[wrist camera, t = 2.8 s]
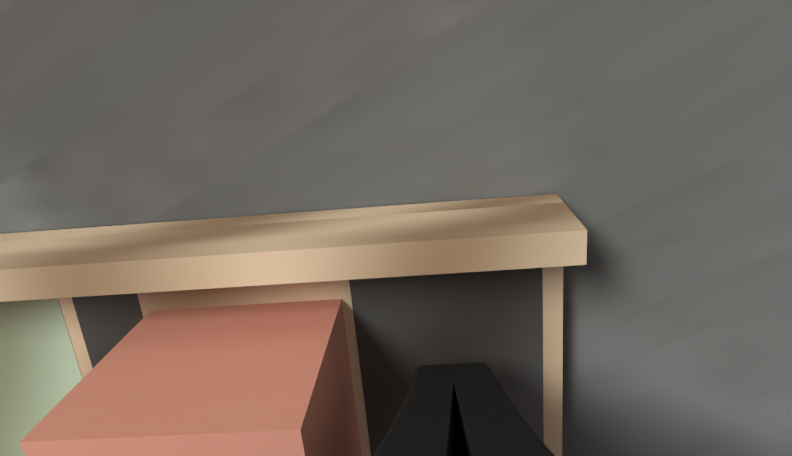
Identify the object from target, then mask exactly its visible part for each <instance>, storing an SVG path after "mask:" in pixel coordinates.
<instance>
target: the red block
mask: <svg viewBox="0 0 792 456" xmlns="http://www.w3.org/2000/svg"><path fill="white" fill-rule="evenodd" d="M19 443H20V445H21V448H22V451H23V454H24V456H362V450H361V442H360V435H359V427H358V419H357V412H356V404H355V397H354V389H353V382H352V374H351V366H350V359H349V351H348V344H347V336H346V328H345V321H344V313H343V306H342V299H330V300H314V301H297V302H281V303H264V304H248V305H231V306H215V307H199V308H182V309H166V310H151V311H150V312H149V313H148V314H147V315H146V316H145V317H144V318H143V319H142V320H141V321H140V322H139V323H138V324H137V325H136V326H135V327H134V328H133V329H132V330H131V331H130V332H129V333H128V334H127V335H126V336H125V337H124V338H123V339H122V340H121V341H120V342H119V343H118V344H117V345H116V346H115V347H114V348H113V349H112V350H111V351H110V352H109V353H108V354H107V355H106V356H105V357H104V358H103V359H102V360H101V361H100V362H99V363H98V364H97V365H96V366H95V367H94V368H93V369H92V370H91V371H90V372H89V373H88V374H87V375H86V376H85V377H84V378H83V379H82V380H81V381H80V382H79V383H78V384H77V385H76V386H75V387H74V388H73V389H72V390H71V391H70V392H69V393H68V394H67V395H66V396H65V397H64V398H63V399H62V400H61V401H60V402H59V403H58V404H57V405H56V406H55V407H54V408H53V409H52V410H51V411H50V412H49V413H48V414H47V415H46V416H45V417H44V418H43V419H42V420H41V421H40V422H39V423H38V424H37V425H36V426H35V427H34V428H33V429H32V430H31V431H30V432H29V433H28V434H27V435H26V436H25V437H24V438H23V439H22V440H21V441H20V442H19Z"/></svg>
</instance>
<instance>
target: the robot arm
mask: <svg viewBox="0 0 792 456" xmlns="http://www.w3.org/2000/svg"><path fill="white" fill-rule="evenodd" d="M373 456H555V455H554V454H553V453H552V452H551V451H550V450H549V449H548V447H547V446H546V445H545V444H544V443H543V442H542V441H541V439H540V438H539V437H538V436H537V435H536V434H535V432H534V431H533V430H532V429H531V427H530V426H529V425H528V424H527V422H526V421H525V420H524V419H523V417H522V416H521V415H520V414H519V412H518V411H517V410H516V408H515V407H514V406H513V404H512V403H511V401H510V400H509V399H508V397H507V396H506V394H505V393H504V391H503V390H502V388H501V387H500V385H499V384H498V382H497V380H496V379H495V377H494V375H493V373H492V372H491V370H490V367H488V366H487V365H486V364H485V363H484V362H477V363H457V364H438V365H420V366H419V367H418V368H417V369H416V370H415V372H414V376H413V379H412V382H411V385H410V387H409V390H408V392H407V394H406V397H405V399H404V401H403V403H402V405H401V407H400V409H399V411H398V413H397V415H396V417H395V419H394V421H393V422H392V424H391V426H390V428H389V430H388V432H387V434H386V435H385V437H384V439H383V440H382V442H381V443H380V445H379V447H378V448H377V450H376V451H375V453H374V454H373Z"/></svg>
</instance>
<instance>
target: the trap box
mask: <svg viewBox="0 0 792 456" xmlns="http://www.w3.org/2000/svg"><path fill="white" fill-rule="evenodd" d="M575 265H587V229H586V228H585V227H584V226H583V225H582V223H581V222H580V221H579V220H578V219H577V217H576V216H575V215H574V214H573V213H572V212H571V210H570V209H569V208H568V207H567V206H566V204H565V203H564V202H563V201H562V200H561V199H560V197H559V196H558V195H557V194H546V195H533V196H519V197H505V198H491V199H477V200H464V201H450V202H436V203H422V204H408V205H395V206H381V207H367V208H353V209H339V210H326V211H312V212H298V213H284V214H270V215H257V216H243V217H229V218H215V219H201V220H188V221H174V222H160V223H146V224H132V225H119V226H105V227H91V228H77V229H63V230H50V231H36V232H22V233H8V234H0V456H24V454H23V451H22V448H21V445H20V443H19V442H20V441H21V440H22V439H23V438H24V437H25V436H26V435H27V434H28V433H29V432H30V431H31V430H32V429H33V428H34V427H35V426H36V425H37V424H38V423H39V422H40V421H41V420H42V419H43V418H44V417H45V416H46V415H47V414H48V413H49V412H50V411H51V410H52V409H53V408H54V407H55V406H56V405H57V404H58V403H59V402H60V401H61V400H62V399H63V398H64V397H65V396H66V395H67V394H68V393H69V392H70V391H71V390H72V389H73V388H74V387H75V386H76V385H77V384H78V383H79V382H80V381H81V380H82V379H83V378H84V377H85V376H86V375H87V374H88V373H89V372H90V371H91V370H92V369H93V368H94V367H95V366H96V365H97V364H98V363H99V362H100V361H101V360H102V359H103V358H104V357H105V356H106V355H107V354H108V353H109V352H110V351H111V350H112V349H113V348H114V347H115V346H116V345H117V344H118V343H119V342H120V341H121V340H122V339H123V338H124V337H125V336H126V335H127V334H128V333H129V332H130V331H131V330H132V329H133V328H134V327H135V326H136V325H137V324H138V323H139V322H140V321H141V320H142V319H143V318H144V317H145V316H146V315H147V314H148V313H149V312H150V311H151V310H166V309H182V308H199V307H215V306H231V305H248V304H264V303H281V302H297V301H314V300H330V299H342V306H343V313H344V321H345V328H346V336H347V344H348V351H349V359H350V366H351V374H352V382H353V389H354V397H355V404H356V412H357V419H358V427H359V435H360V442H361V450H362V456H373V454H374V453H375V451H376V450H377V448H378V447H379V445H380V443H381V442H382V440H383V439H384V437H385V435H386V434H387V432H388V430H389V428H390V426H391V424H392V422H393V421H394V419H395V417H396V415H397V413H398V411H399V409H400V407H401V405H402V403H403V401H404V399H405V397H406V394H407V392H408V390H409V387H410V385H411V382H412V379H413V376H414V372H415V370H416V369H417V368H418V367H419V366H420V365H438V364H457V363H477V362H484V363H485V364H486V365H487V366H488V367H490V370H491V372H492V373H493V375H494V377H495V379H496V380H497V382H498V384H499V385H500V387H501V388H502V390H503V391H504V393H505V394H506V396H507V397H508V399H509V400H510V401H511V403H512V404H513V406H514V407H515V408H516V410H517V411H518V412H519V414H520V415H521V416H522V417H523V419H524V420H525V421H526V422H527V424H528V425H529V426H530V427H531V429H532V430H533V431H534V432H535V434H536V435H537V436H538V437H539V438H540V439H541V441H542V442H543V443H544V444H545V445H546V446H547V447H548V449H549V450H550V451H551V452H552V453H553V454H554V455H555V456H562V395H563V266H575Z"/></svg>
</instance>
